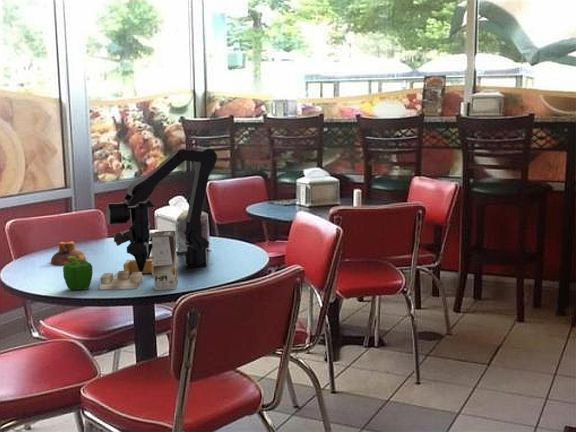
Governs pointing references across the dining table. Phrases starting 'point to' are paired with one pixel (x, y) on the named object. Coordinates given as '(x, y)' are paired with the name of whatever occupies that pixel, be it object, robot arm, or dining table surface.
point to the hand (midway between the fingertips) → (142, 269)
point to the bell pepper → (77, 274)
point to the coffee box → (164, 260)
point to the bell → (67, 254)
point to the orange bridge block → (132, 266)
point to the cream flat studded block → (121, 280)
